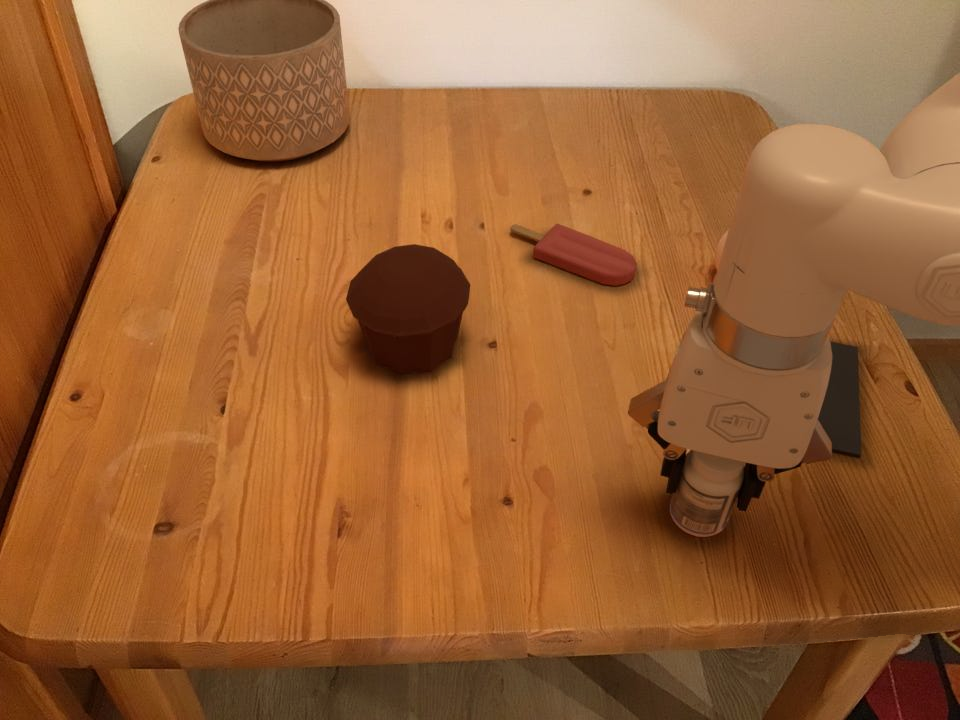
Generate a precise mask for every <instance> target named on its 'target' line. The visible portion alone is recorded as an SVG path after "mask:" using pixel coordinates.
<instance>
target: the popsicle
mask: <svg viewBox="0 0 960 720" xmlns="http://www.w3.org/2000/svg"><path fill="white" fill-rule="evenodd" d="M509 230H510V231H511V232H512V233H515V234H517V235H519V236H521V237H524V238H527V239H530V240H532V241H535V242H537V243H536V244H535V245H534V247H533V251H532V257H533V258H534V259H537V260H538V261H542V262H544V263H546V264H549V265H552V266H554V267H557V268H559V269H562V270H564V271H567V272H569V273H572V274H575V275H578V276H580V277H582V278H583V277H584V278H586V279H588V280H591V281H594V282H595V283H596V282H597V283H599V284H602V285H605V286H606V285H607V286H613V287H616V286H622V285H625V284H627V283H629V282H631V281H632V280H633V278H634V277H635V274H636V269H637V261H636V259H635V257H634V255H633V254H632V253H630V252H628V251H627V250H625V249H624V248H621V247H619V246H616V245H614V244H611V243H609V242H606V241H604V240H601V239H599V238H596V237H593V236H591V235H588V234H586V233H584V232H581V231H578V230H576V229H573V228H571V227H568V226H565V225H562V224H560V223H555V224H554V225H553V226H552V227H551V228H550V229H549V231H547V233H546V234H542V233H540V232H538V231H534V230H532V229H529V228H527V227H524V226H521V225H519V224H512V225H511V226H510V228H509Z"/></svg>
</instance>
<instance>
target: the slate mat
mask: <svg viewBox="0 0 960 720" xmlns="http://www.w3.org/2000/svg"><path fill="white" fill-rule="evenodd" d="M830 343H831V350H832V366H831V373H830V377H829V382H828V386H827V390H826V394H825V397H824V401H823V404H822V407H821V410H820V414H819V417H818V421H819V422H820V424H821V426H822V427H823V429H824V430H825V432H826V434H827V435H828V437H829V439H830V440H831V442H832V453H838V454H841V455H845V456H849V457H854V458H859V459H860V458H861V457H862V435H861V434H862V433H861V432H862V431H861V403H860V402H861V401H860V378H859V375H860V374H859V350H858V349H859V348H858V346H855V345H849V344H845V343H839V342H836V341H830Z"/></svg>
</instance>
